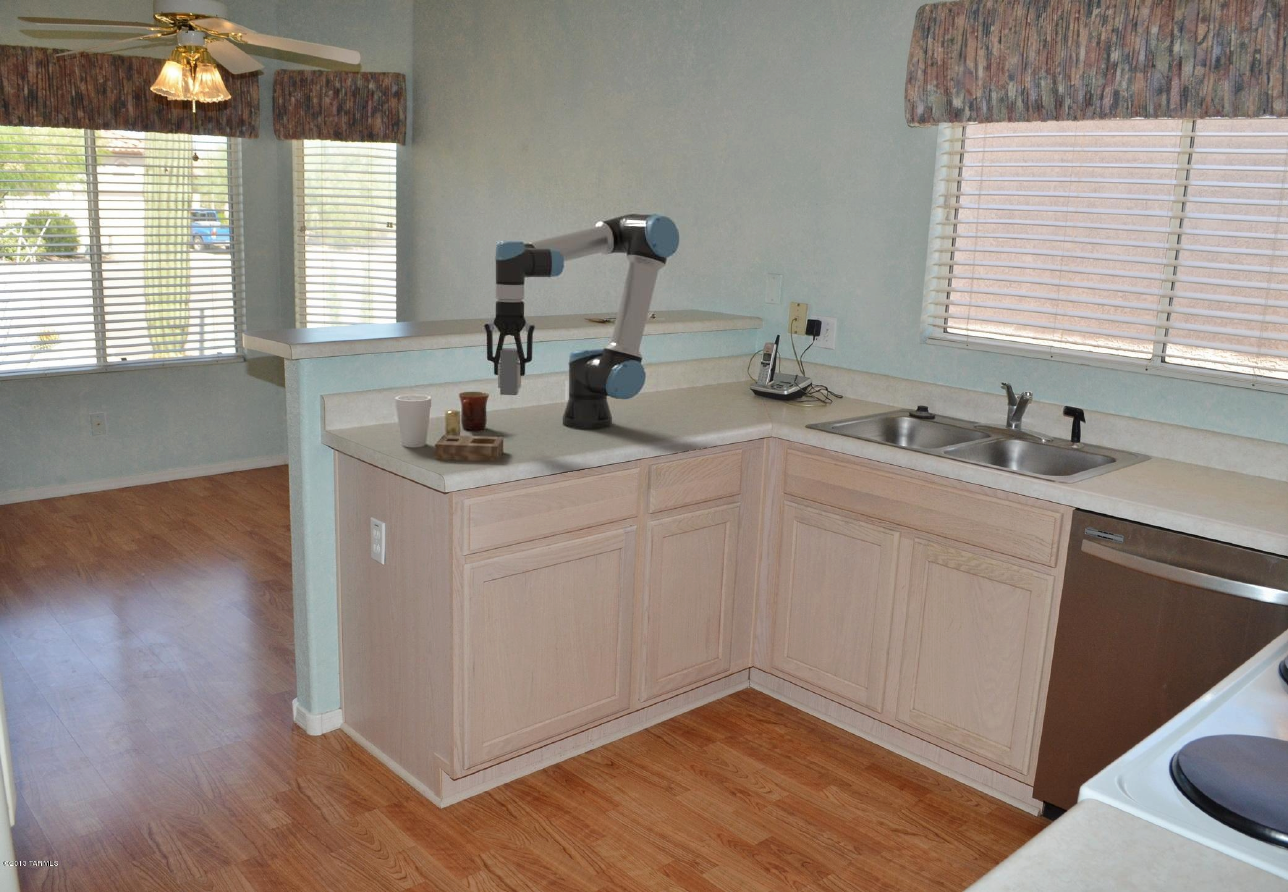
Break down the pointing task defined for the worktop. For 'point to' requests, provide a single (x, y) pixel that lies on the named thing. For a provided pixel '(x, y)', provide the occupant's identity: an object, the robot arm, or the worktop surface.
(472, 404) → the mug
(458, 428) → the brass dowel
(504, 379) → the square bit
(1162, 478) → the worktop surface
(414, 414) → the foam cup
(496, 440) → the socket block
